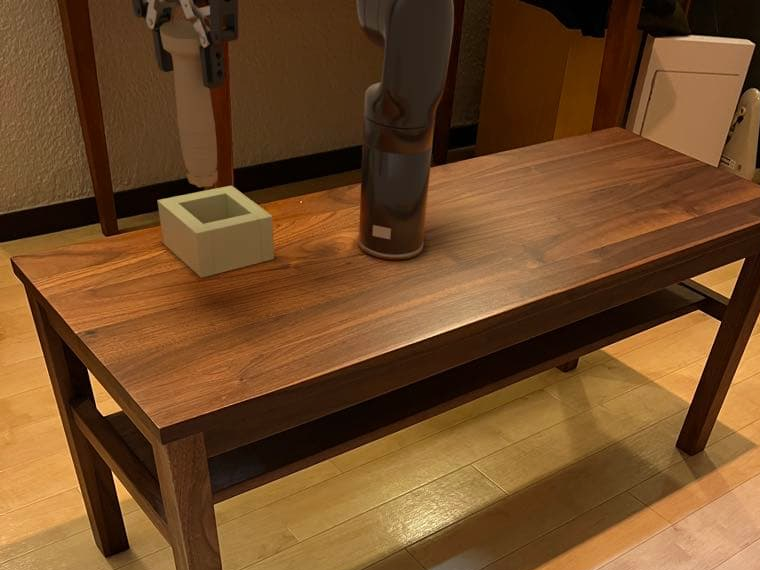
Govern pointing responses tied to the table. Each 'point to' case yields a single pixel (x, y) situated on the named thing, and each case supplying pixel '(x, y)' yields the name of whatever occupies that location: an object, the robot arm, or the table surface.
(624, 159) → the table surface
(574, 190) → the table surface
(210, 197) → the frame
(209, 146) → the handle
